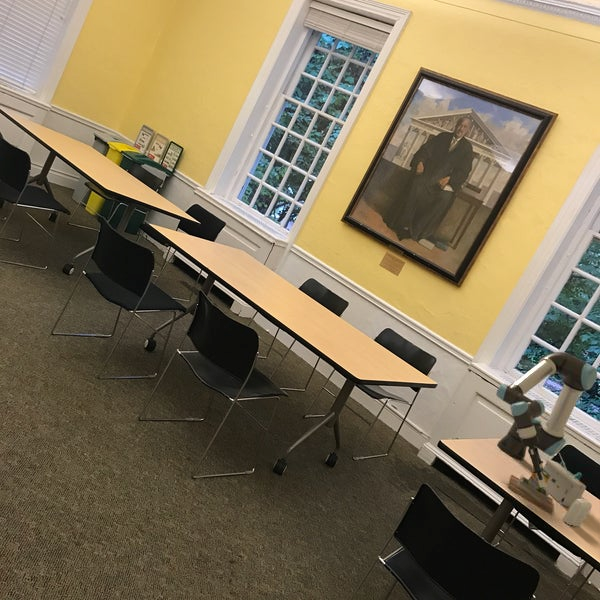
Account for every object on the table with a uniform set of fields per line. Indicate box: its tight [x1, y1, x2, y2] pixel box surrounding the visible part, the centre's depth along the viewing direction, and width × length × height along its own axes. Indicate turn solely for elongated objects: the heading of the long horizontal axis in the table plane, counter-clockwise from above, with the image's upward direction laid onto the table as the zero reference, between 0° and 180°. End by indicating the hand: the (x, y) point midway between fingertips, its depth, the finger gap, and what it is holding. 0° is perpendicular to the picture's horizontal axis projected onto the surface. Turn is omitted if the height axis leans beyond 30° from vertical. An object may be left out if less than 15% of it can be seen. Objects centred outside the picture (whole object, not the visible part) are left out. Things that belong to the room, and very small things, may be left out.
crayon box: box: [526, 467, 550, 493], centre depth 264 cm, size 7×3×12 cm, turn 13°
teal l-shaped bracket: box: [559, 461, 583, 481], centre depth 312 cm, size 18×11×10 cm, turn 157°
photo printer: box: [562, 498, 593, 527], centre depth 253 cm, size 10×4×12 cm, turn 119°
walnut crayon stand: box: [507, 474, 554, 515], centre depth 265 cm, size 18×20×4 cm
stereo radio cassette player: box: [543, 449, 587, 508], centre depth 280 cm, size 21×8×20 cm, turn 16°
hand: (543, 482), depth 263 cm, fingers open, 13 cm apart
